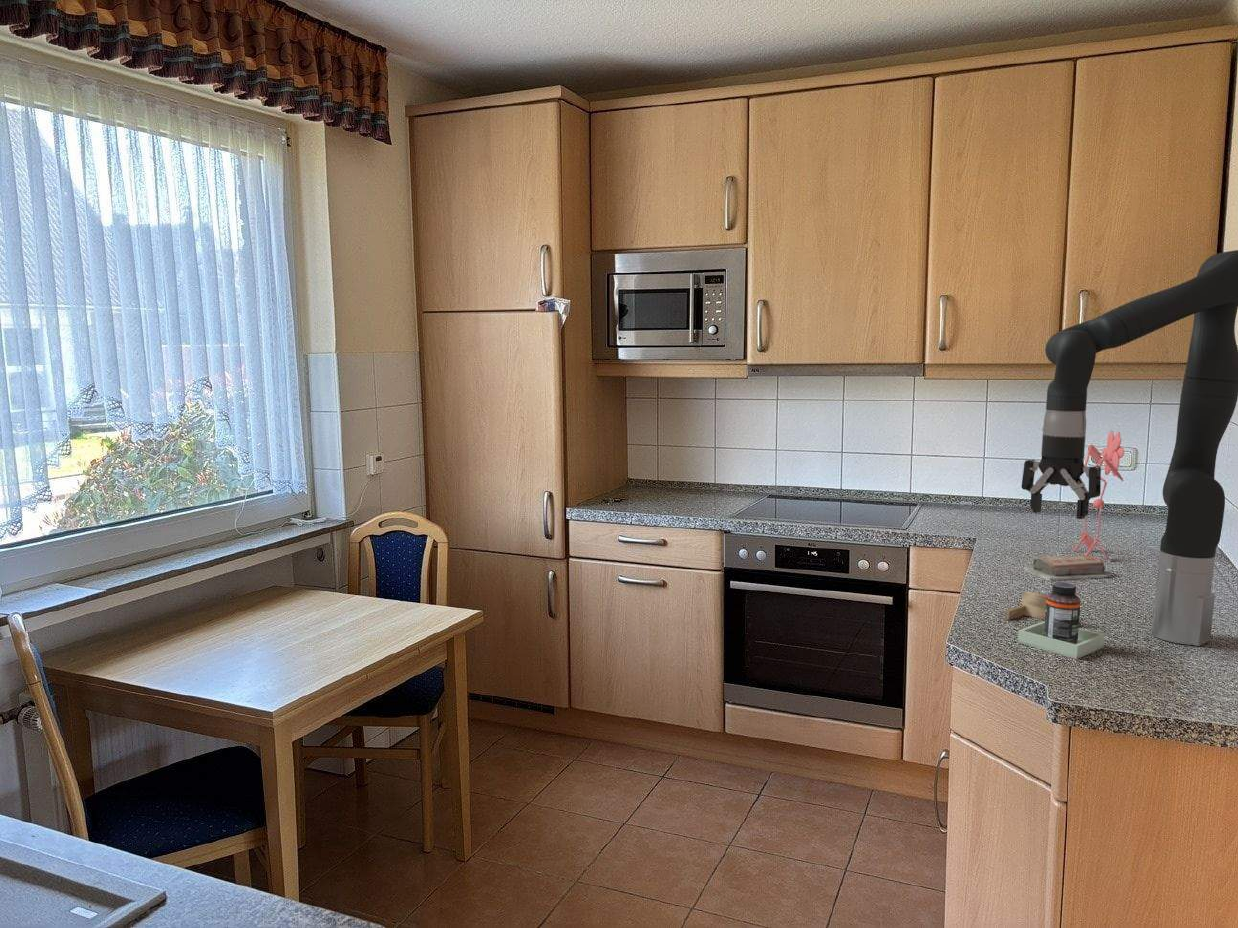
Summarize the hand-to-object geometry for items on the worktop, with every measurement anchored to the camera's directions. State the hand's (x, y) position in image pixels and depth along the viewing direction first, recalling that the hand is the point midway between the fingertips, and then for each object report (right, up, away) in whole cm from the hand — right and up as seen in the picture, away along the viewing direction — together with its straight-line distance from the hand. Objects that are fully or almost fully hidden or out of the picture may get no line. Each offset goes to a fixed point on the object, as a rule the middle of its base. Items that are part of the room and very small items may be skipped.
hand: (1058, 515), depth 179 cm
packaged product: (+27, -19, +51) cm, 61 cm away
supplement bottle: (-2, -24, -4) cm, 25 cm away
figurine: (+48, -16, +72) cm, 88 cm away
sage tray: (-2, -25, -5) cm, 25 cm away
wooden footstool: (0, -23, +9) cm, 25 cm away
